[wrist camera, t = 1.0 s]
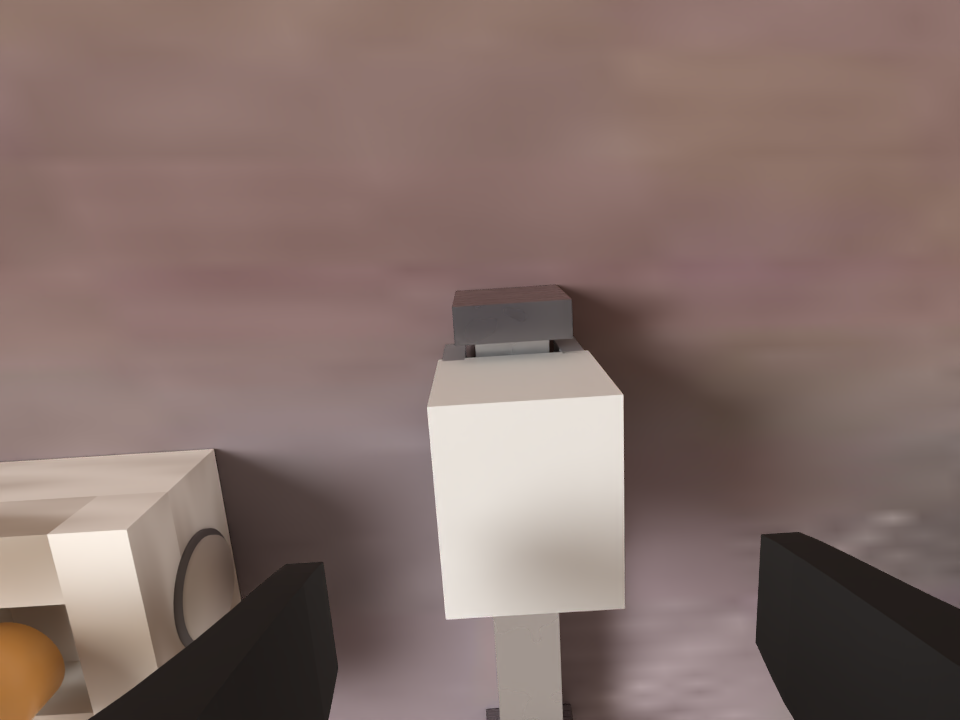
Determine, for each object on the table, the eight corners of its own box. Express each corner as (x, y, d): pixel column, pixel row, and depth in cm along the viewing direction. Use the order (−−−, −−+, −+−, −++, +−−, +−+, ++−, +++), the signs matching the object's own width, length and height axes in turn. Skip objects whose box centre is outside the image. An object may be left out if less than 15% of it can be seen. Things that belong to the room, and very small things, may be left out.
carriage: (581, 491, 19) (624, 608, 14) (454, 499, 19) (445, 619, 14) (577, 336, 18) (623, 394, 12) (442, 345, 18) (427, 407, 12)
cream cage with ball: (256, 638, 21) (191, 767, 16) (46, 650, 21) (-83, 783, 16) (223, 448, 19) (139, 528, 14) (-6, 462, 19) (-166, 547, 15)
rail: (570, 727, 22) (585, 806, 19) (488, 732, 22) (489, 812, 19) (556, 284, 18) (572, 299, 15) (455, 291, 18) (452, 306, 15)
